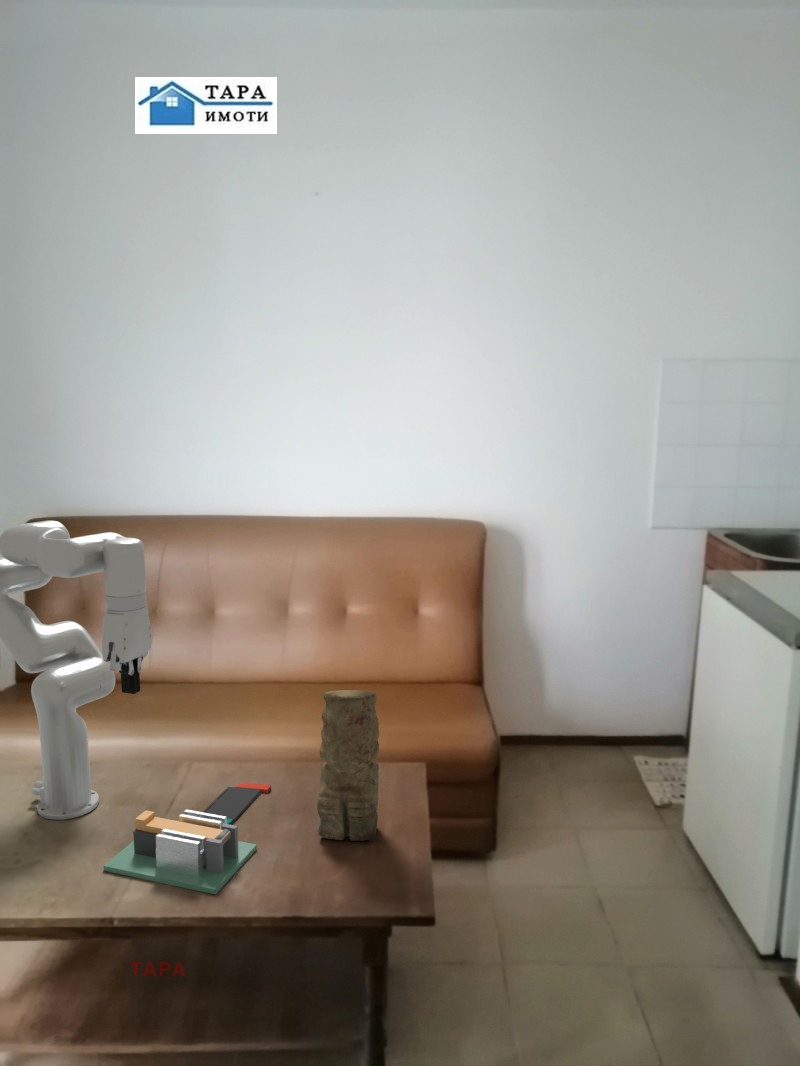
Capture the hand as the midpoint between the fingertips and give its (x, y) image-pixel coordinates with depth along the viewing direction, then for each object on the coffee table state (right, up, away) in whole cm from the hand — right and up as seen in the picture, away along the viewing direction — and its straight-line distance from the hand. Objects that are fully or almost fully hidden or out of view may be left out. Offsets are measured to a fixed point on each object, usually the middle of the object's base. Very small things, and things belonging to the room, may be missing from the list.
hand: (131, 691), depth 167 cm
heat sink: (+13, -32, -4) cm, 35 cm away
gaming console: (+17, -29, +19) cm, 38 cm away
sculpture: (+43, -31, +7) cm, 53 cm away
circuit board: (+11, -32, -3) cm, 34 cm away
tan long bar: (+11, -27, -4) cm, 29 cm away
